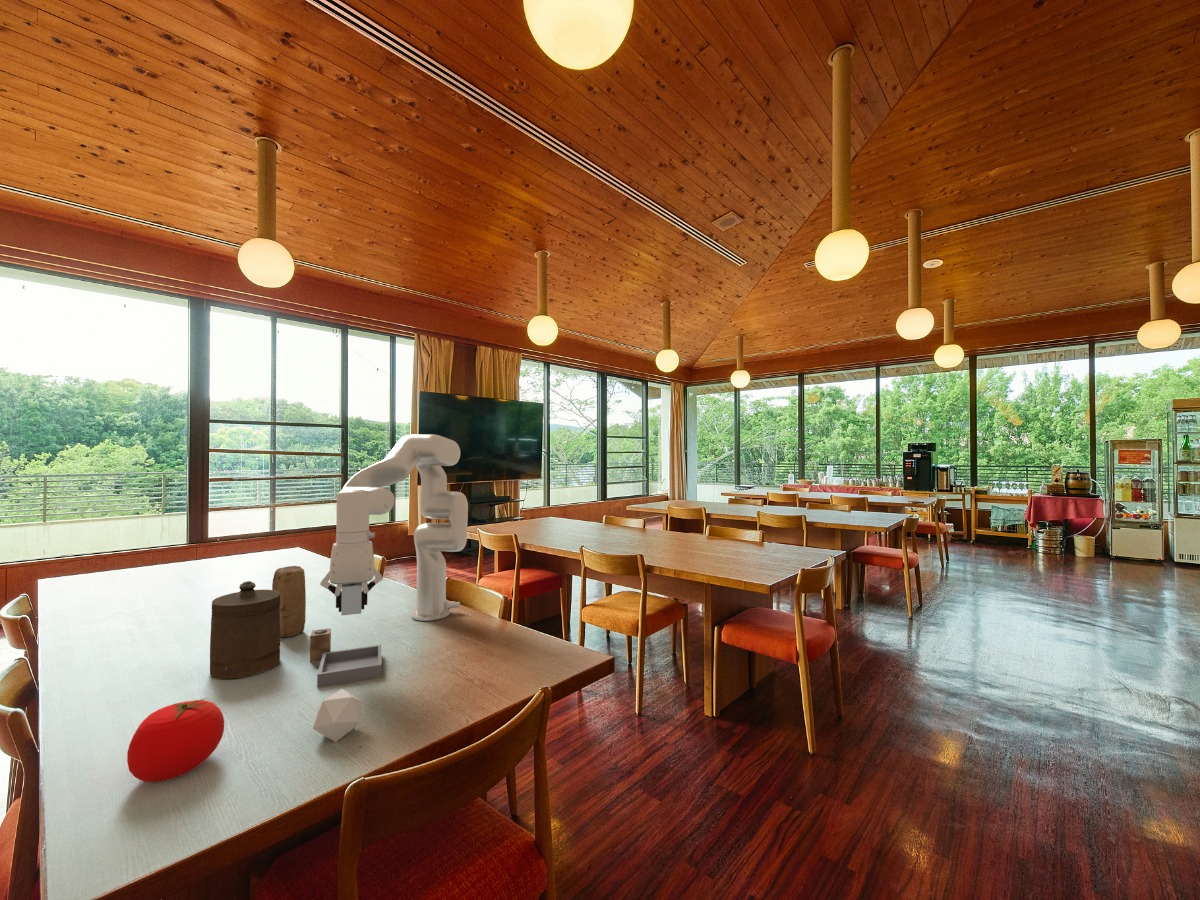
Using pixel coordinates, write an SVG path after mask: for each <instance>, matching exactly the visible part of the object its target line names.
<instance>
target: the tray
mask: <svg viewBox="0 0 1200 900" xmlns="http://www.w3.org/2000/svg"><path fill="white" fill-rule="evenodd" d="M382 663H383V662H382V644H377V645H375V644H374V645H370V646H362V647H356V648H354V647H353V648H346V649H341V650H339V649H338V650H333V651H331V652H325V653H323V655H322V659H321V661H319V667H318V670H317V674H316V675H317V678H316V681H317V682H316V688H320V687H325V686H333V685H339V684H345V683H351V682H357V681H364V680H369V679H375V678H376V679H377V678H381V677H382V674H383V673H382V670H383V669H382Z"/></svg>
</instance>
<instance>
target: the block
mask: <svg viewBox="0 0 1200 900" xmlns="http://www.w3.org/2000/svg"><path fill="white" fill-rule="evenodd" d="M305 574H306V573H305V569H304V568H302V567H301V566H299V565H289V566H283V567H279V568H277V569H276V570H275V571H274V574H273V578H272V583H271V584H272V585H271V588H272V589H271V590H276V591H279V592H280V638H288V637H294V636H297V635H300V634H301V633H304V631H305V624H306V620H307V619H306V618H307V617H306V616H307V615H306V613H307V612H306V609H307V608H306V607H307V605H306V604H307V603H306V602H307V601H306V599H307V595H306V594H307V593H306V575H305Z"/></svg>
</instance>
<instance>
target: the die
mask: <svg viewBox="0 0 1200 900" xmlns="http://www.w3.org/2000/svg"><path fill="white" fill-rule="evenodd" d="M363 706H364V701H363V700H361V699H360V698H359V697H357V696H355V695H353V694H352V693H350V692H348V691H347V690H345V689H343V688H341V689H339V690H338V691H336V692H335V693H333V694H332V695H330V696H328V697H327V698H325V699H323V700H322V701H321V703H320V705H319V707H318V710H317V712H316V716H315V718H314V719H315V720H314V723H313V726H312V730H313V731H316V732H318V733H319V734H320V735H323V736H324V737H326V739H329V740H331V741H333V742H335V743H337V742H338V741H339V740H340V739H342V738H344V737H345V736H346V735H347V734H348V733H350V732H352V730H354V729H355V728H356V727H357V726H358V725H359V724H360V722H361V717H362V711H363Z"/></svg>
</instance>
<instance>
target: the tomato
mask: <svg viewBox="0 0 1200 900" xmlns="http://www.w3.org/2000/svg"><path fill="white" fill-rule="evenodd" d="M206 699H207V697H206V698H202V699H193V700H188V701H182V702H177V703H172V704H169V705H167V706H164V707H162V708H159V709H157V710H155V711H154V712H151V713H150V714H148V716H147V717H145V718H144V720H142V722H141V723H140V724H139V725H138V727H137V729H136V730H135V732H134V734H133V735H132V738H131V741H130V742H129V746H128V749H127V754H126V755H127V756H126V757H127V758H126V759H127V760H126V762H127V767H128V771H129V772H130V773H131V775H132V776H133V777H134V778H135V779H137V780H138V781H141V782H145V783H146V782H147V783H159V782H165V781H169V780H173V779H176V778H179V777H181V776H183V775H185V774H188V773H190V772H191V771H193V770H194V769H196V768H197V767H199V766H200V765H202V763H204V762H205V761H206V760H207V759H208V758H209V757H210V756H211V755H212V754H213V753H214V751H215V750H216V749H217V748H218V745H219V744H220V742H221V741H222V738H223V736H224V732H225V718H224V715H223V712H222V710H221V709H220V707H219V706H217V705H216V704H215V703H213V702H212V701H209V700H206Z"/></svg>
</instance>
